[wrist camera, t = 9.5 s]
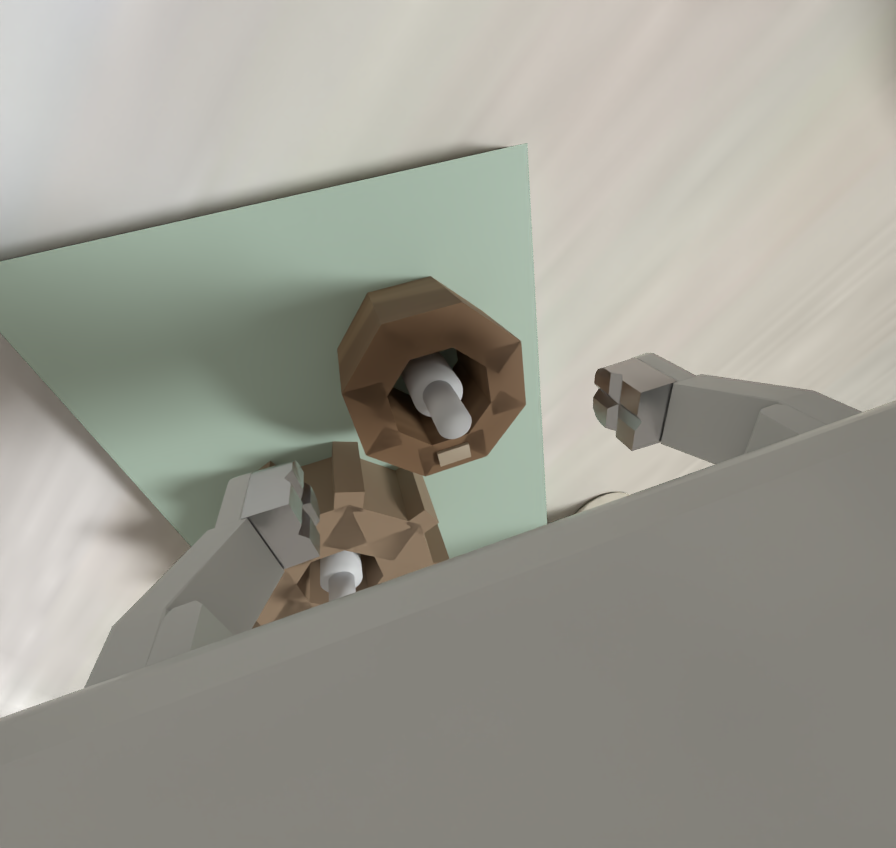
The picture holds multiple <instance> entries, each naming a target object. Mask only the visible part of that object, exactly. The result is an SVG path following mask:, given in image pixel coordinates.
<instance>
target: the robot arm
mask: <svg viewBox="0 0 896 848" xmlns="http://www.w3.org/2000/svg"><path fill="white" fill-rule="evenodd" d="M594 384H595V385H596V386H597V387H598V388H599V389H598V391H597V392H596V394H595V396H594V397H593V409H594V412H595V415H596V417H597V419H598V420H599V422H600V423H601V424H602V425H603V426H604V427H605V428H608V429H612V430H615V431H616V437H617V438H618V439H619V440H620V441H621V442H622V443H623V444H625V445H626V446H627V447H628V448H629V449H630V450H631V451H633V450H637V449H640V448H643V447H647V446H650V445H653V444H656V443H660V442H661V444H663V445H666V446H669V447H671V448H674V449H676V450H679V451H682V452H684V453H687V454H690V455H692V456H695V457H697V458H700V459H703V460H705V461H708V462H711V463H713V464H716V465H713V466H710V467H707V468H704V469H702V470H699V471H696V472H693V473H690V474H688V475H685V476H682V477H679V478H676V479H673V480H671V481H668V482H665V483H662V484H659V485H656V486H654V487H651V488H648V489H645V490H642V491H639V492H637V493H634V494H631V495H628V496H625V497H622V498H619V499H617V500H614V501H611V502H608V503H605V504H602V505H600V506H597V507H594V508H591V509H588V510H585V511H583V512H580V513H577V514H574V515H571V516H569V517H566V518H563V519H560V520H557V521H555V522H552V523H549V524H546V525H543V526H540V527H538V528H535V529H532V530H529V531H526V532H524V533H521V534H518V535H515V536H512V537H510V538H507V539H504V540H501V541H498V542H495V543H493V544H490V545H487V546H484V547H481V548H479V549H476V550H473V551H470V552H467V553H465V554H462V555H459V556H456V557H453V558H450V559H448V560H445V561H442V562H439V563H436V564H434V565H431V566H428V567H425V568H422V569H419V570H417V571H414V572H411V573H408V574H405V575H403V576H400V577H397V578H394V579H391V580H388V581H386V582H383V583H380V584H377V585H374V586H372V587H369V588H366V589H363V590H360V591H357V592H355V593H352V594H349V595H346V596H343V597H341V598H338V599H335V600H332V601H329V602H326V603H324V604H321V605H318V606H315V607H312V608H310V609H307V610H304V611H301V612H298V613H295V614H293V615H290V616H287V617H284V618H281V619H279V620H276V621H273V622H270V623H267V624H264V625H262V626H259V627H256V628H253V629H252V627H253V626H254V624H255V622H256V620H257V619H258V617H259V615H260V614H261V612H262V610H263V608H264V607H265V605H266V603H267V601H268V600H269V598H270V596H271V594H272V593H273V591H274V589H275V587H276V586H277V584H278V582H279V580H280V579H281V577H282V575H283V573H284V572H285V571H284V569H287V568H289V567H292V566H295V565H298V564H300V563H303V562H306V561H309V560H311V559H314V558H317V557H319V556H320V534H319V532H318V530H317V528H316V526H317V524H318V523H319V521H320V511H319V506H318V501H317V498H316V496H315V493H314V491H313V489H312V487H311V485H309V484H307V483H305V482H304V472H303V470H302V468H301V466H300V465H299V463H298V462H297V461H295V460H294V461H290V462H286V463H283V464H279V465H276V466H272V467H269V468H265V469H261V470H258V471H254V472H251V473H247V474H244V475H241V476H238V477H234V478H232V479H231V480H229V482H228V485H227V488H226V491H225V495H224V498H223V501H222V505H221V508H220V511H219V515H218V518H217V522H216V525H215V528H213V529H210V530H207V532H206V533H205V534H204V535H203V536H202V537H201V538H200V539H199V540H198V541H197V542H196V543H195V544H194V545H193V546H192V547H191V548H190V549H189V550H188V551H187V552H186V553H185V554H184V555H183V556H182V557H181V558H180V559H179V560H178V561H177V562H176V563H175V564H174V565H173V566H172V567H171V568H170V569H169V570H168V571H167V572H166V573H165V574H164V575H163V576H162V577H161V578H160V579H159V580H158V581H157V582H156V583H155V584H154V585H153V586H152V587H151V588H150V589H149V590H148V591H147V592H146V593H145V594H144V595H143V596H142V597H141V598H140V599H139V600H138V601H137V602H136V603H135V604H134V605H133V606H132V607H131V608H130V609H129V610H128V611H127V612H126V613H125V614H124V615H123V616H122V617H121V618H120V619H119V620H118V621H117V622H116V623H115V624H114V625H113V626H112V628H111V631H110V633H109V635H108V637H107V639H106V642H105V644H104V646H103V648H102V650H101V652H100V655H99V657H98V659H97V661H96V663H95V666H94V668H93V670H92V672H91V674H90V676H89V679H88V681H87V683H86V685H85V687H84V689H81V690H78V691H75V692H73V693H70V694H67V695H64V696H61V697H58V698H56V699H53V700H50V701H47V702H44V703H41V704H39V705H36V706H33V707H30V708H27V709H25V710H22V711H19V712H16V713H13V714H10V715H8V716H5V717H2V718H0V848H896V401H893V402H890V403H887V404H884V405H882V406H879V407H876V408H873V409H870V410H867V411H865V412H861V411H859V410H857V409H854V408H852V407H850V406H848V405H845V404H843V403H841V402H838V401H836V400H834V399H832V398H829V397H827V396H825V395H823V394H820V393H818V392H816V391H813V390H807V389H800V388H793V387H786V386H779V385H772V384H765V383H759V382H752V381H745V380H738V379H731V378H724V377H717V376H710V375H703V374H700V375H697V376H696V375H694V374H692V373H690V372H688V371H686V370H684V369H683V368H681V367H679V366H677V365H675V364H673V363H671V362H669V361H667V360H666V359H664V358H662V357H660V356H658V355H656V354H654V353H645V354H642V355H639V356H636V357H634V358H631V359H629V360H625V361H622V362H619V363H616V364H613V365H610V366H607V367H604V368H600V369H598V370H597V372H596V374H595V382H594Z"/></svg>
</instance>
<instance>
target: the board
mask: <svg viewBox="0 0 896 848" xmlns="http://www.w3.org/2000/svg"><path fill="white" fill-rule="evenodd" d="M429 276H431V277H433V278H434V279H436V280H437V281H439V282H440V283H442V284H443V285H445V286H446V287H448V288H449V289H451V290H452V291H454V292H455V293H457V294H458V295H460V296H461V297H463V298H464V299H466V300H467V301H469V302H470V303H472V304H473V305H475V306H476V307H477V308H479V309H481V310H482V311H483V312H484V313H486V314H487V315H488V316H490V317H491V318H492V319H493V320H495V321H496V322H497V323H499V324H500V325H501V326H503V327H504V328H505V329H506V330H508V331H509V332H510V333H512V334H513V335H514V336H515V337H517V338H518V339H519V340H521V344H522V357H523V370H524V383H525V396H526V405H525V407H524V408H523V409H522V411H521V412H520V413H519V415H518V416H517V417H516V419H515V420H514V421H513V423H512V424H511V425H510V427H509V428H508V429H507V430H506V432H505V433H504V434H503V436H502V437H501V438H500V440H499V441H498V442H497V444H496V445H495V446H494V448H493V449H492V450H491V452H490V453H489V454H488V456H486V457H483V458H480V459H477V460H474V461H471V462H468V463H465V464H462V465H459V466H456V467H453V468H450V469H447V470H444V471H441V472H438V473H435V474H432V475H429V476H426V477H425V476H422V475H419V474H417V473H414V472H411V471H408V470H405V469H403V468H400V467H397V466H394V465H391V464H388V463H386V462H383V461H380V460H377V459H374V458H372V457H369V456H366V454H365V452H364V449H363V447H362V444H361V442H360V439H359V437H358V434H357V432H356V429H355V427H354V424H353V421H352V419H351V416H350V414H349V411H348V409H347V406H346V404H345V401H344V399H343V396H342V393H341V383H340V373H339V363H338V353H337V348H338V346H339V345H340V343H341V341H342V339H343V337H344V335H345V333H346V332H347V330H348V328H349V326H350V324H351V322H352V320H353V319H354V317H355V315H356V313H357V311H358V309H359V307H360V306H361V304H362V302H363V300H364V298H365V296H366V294H367V293H368V292H372V291H376V290H380V289H383V288H387V287H391V286H395V285H399V284H403V283H406V282H410V281H414V280H418V279H422V278H426V277H429ZM0 333H1V334H2V335H3V336H4V338H5V339H6V340H7V341H8V342H9V343H10V344H11V345H12V347H13V348H14V349H15V350H16V351H17V352H18V353H19V354H20V355H21V357H22V358H23V359H24V360H25V361H26V362H27V363H28V364H29V366H30V367H31V368H32V369H33V370H34V371H35V372H36V373H37V375H38V376H39V377H40V378H41V379H42V380H43V381H44V382H45V384H46V385H47V386H48V387H49V388H50V389H51V390H52V391H53V392H54V394H55V395H56V396H57V397H58V398H59V399H60V400H61V401H62V403H63V404H64V405H65V406H66V407H67V408H68V409H69V410H70V412H71V413H72V414H73V415H74V416H75V417H76V418H77V419H78V420H79V422H80V423H81V424H82V425H83V426H84V427H85V428H86V429H87V431H88V432H89V433H90V434H91V435H92V436H93V437H94V438H95V440H96V441H97V442H98V443H99V444H100V445H101V446H102V447H103V448H104V450H105V451H106V452H107V453H108V454H109V455H110V456H111V457H112V459H113V460H114V461H115V462H116V463H117V464H118V465H119V466H120V468H121V469H122V470H123V471H124V472H125V473H126V474H127V475H128V477H129V478H130V479H131V480H132V481H133V482H134V483H135V484H136V485H137V487H138V488H139V489H140V490H141V491H142V492H143V493H144V494H145V496H146V497H147V498H148V499H149V500H150V501H151V502H152V503H153V505H154V506H155V507H156V508H157V509H158V510H159V511H160V512H161V513H162V515H163V516H164V517H165V518H166V519H167V520H168V521H169V522H170V524H171V525H172V526H173V527H174V528H175V529H176V530H177V531H178V533H179V534H180V535H181V536H182V537H183V538H184V539H185V540H186V541H187V543H188V544H189V545H190V546H191V547H192V546H193V545H194V544H195V543H196V542H197V541H198V540H199V539H200V538H201V537H202V536H203V535H204V534H205V533H206V532H207V530H210V529H213V528H215V525H216V522H217V518H218V515H219V511H220V508H221V505H222V501H223V498H224V495H225V491H226V488H227V485H228V482H229V480H231V479H232V478H234V477H238V476H241V475H244V474H247V473H251V472H254V471H258V470H261V469H265V468H269V467H272V466H276V465H279V464H283V463H286V462H290V461H294V460H295V461H297V462H298V463H299V465H300V466H301V468H302V470H303V472H304V482H305V483H307V484H309V485H311V487H312V489H313V491H314V493H315V496H316V498H317V501H318V506H319V511H320V521H319V523H318V524H317V526H316V528H317V530H318V532H319V534H320V556H319V557H317V558H314V559H311V560H309V561H306V562H303V563H300V564H298V565H295V566H292V567H289V568H287V569H284V571H285V572H284V573H283V575H282V577H281V579H280V580H279V582H278V584H277V586H276V587H275V589H274V591H273V593H272V594H271V596H270V598H269V600H268V601H267V603H266V605H265V607H264V608H263V610H262V612H261V614H260V615H259V617H258V619H257V620H256V622H255V624H254V626H253V627H252V629H253V628H256V627H259V626H262V625H264V624H267V623H270V622H273V621H276V620H279V619H281V618H284V617H287V616H290V615H293V614H295V613H298V612H301V611H304V610H307V609H310V608H312V607H315V606H318V605H321V604H324V603H326V602H329V601H332V600H335V599H338V598H341V597H343V596H346V595H349V594H352V593H355V592H357V591H360V590H363V589H366V588H369V587H372V586H374V585H377V584H380V583H383V582H386V581H388V580H391V579H394V578H397V577H400V576H403V575H405V574H408V573H411V572H414V571H417V570H419V569H422V568H425V567H428V566H431V565H434V564H436V563H439V562H442V561H445V560H448V559H450V558H453V557H456V556H459V555H462V554H465V553H467V552H470V551H473V550H476V549H479V548H481V547H484V546H487V545H490V544H493V543H495V542H498V541H501V540H504V539H507V538H510V537H512V536H515V535H518V534H521V533H524V532H526V531H529V530H532V529H535V528H538V527H540V526H543V525H546V524H547V511H546V492H545V473H544V454H543V435H542V416H541V397H540V377H539V358H538V339H537V320H536V301H535V282H534V263H533V244H532V225H531V206H530V186H529V167H528V148H527V143H525V144H521V145H516V146H511V147H506V148H502V149H498V150H493V151H489V152H484V153H480V154H475V155H471V156H466V157H462V158H457V159H453V160H449V161H444V162H440V163H435V164H431V165H426V166H422V167H417V168H413V169H409V170H404V171H400V172H395V173H391V174H386V175H382V176H377V177H373V178H369V179H364V180H360V181H355V182H351V183H346V184H342V185H337V186H333V187H329V188H324V189H320V190H315V191H311V192H306V193H302V194H297V195H293V196H288V197H284V198H280V199H275V200H271V201H266V202H262V203H257V204H253V205H248V206H244V207H240V208H235V209H231V210H226V211H222V212H217V213H213V214H208V215H204V216H200V217H195V218H191V219H186V220H182V221H177V222H173V223H168V224H164V225H160V226H155V227H151V228H146V229H142V230H137V231H133V232H128V233H124V234H120V235H115V236H111V237H106V238H102V239H97V240H93V241H88V242H84V243H79V244H75V245H71V246H66V247H62V248H57V249H53V250H48V251H44V252H39V253H35V254H31V255H26V256H22V257H17V258H13V259H8V260H4V261H0ZM457 361H458V358H457V352H456V349H455V348H449V349H446V350H442V351H439V352H435V353H432V354H429V355H425V356H422V357H418V358H415V359H411V360H409V362H408V364H407V365H406V367H405V368H404V370H403V372H402V373H401V375H400V377H399V378H398V380H397V381H396V383H395V385H394V386H393V387H394V388H396V389H398V390H400V391H402V392H404V393H406V394H409V395H410V396H411V398H412V401H413V403H414V405H415V407H416V409H417V410H418V411H419V412H420V413H422V414H423V415H426V416H429V417H432V420H433V422H434V424H435V426H436V428H437V430H438V432H439V434H440V435H441V436H442V437H444V438H447V439H456V438H459V437H461V436H463V435H464V434H466V433H467V432H468V430H469V429H470V427H471V423H472V419H471V416H470V414H469V412H468V411H467V409H466V408H465V406H464V405H463V403H462V402H461V399H462V395H463V387H462V384H461V382H460V380H459V378H458V377H457V376H456V374H455V373H454V371H453V370H452V369H453V367H454V366H455V364H456V363H457Z"/></svg>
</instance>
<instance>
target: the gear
mask: <svg viewBox="0 0 896 848" xmlns="http://www.w3.org/2000/svg"><path fill="white" fill-rule="evenodd" d="M449 348H455V349H456V352H457V358H458V361H457V363H456V364H455V366H454V367H453V369H452V370H453V371H454V373H455V374H456V376H457V377H458V378H459V380H460V382H461V384H462V387H463V395H462V399H461V402H462V403H463V405H464V406H465V408H466V409H467V411H468V412H469V414H470V416H471V419H472V423H471V427H470V429H469V430H468V432H467V433H466V434H464V435H463V436H461V437H459V438H456V439H447V438H444V437H442V436H441V435H440V434H439V432H438V430H437V428H436V426H435V424H434V422H433V420H432V417H429V416H426V415H423V414H422V413H420V412H419V411H418V410H417V409H416V407H415V405H414V403H413V401H412V398H411V396H410V395H409V394H406V393H404V392H402V391H400V390H398V389H396V388H394V387H393V386H394V385H395V383H396V381H397V380H398V378H399V377H400V375H401V373H402V372H403V370H404V368H405V367H406V365H407V364H408V362H409V360H411V359H415V358H418V357H422V356H425V355H429V354H432V353H435V352H439V351H442V350H446V349H449ZM337 353H338V363H339V373H340V383H341V393H342V396H343V399H344V401H345V404H346V406H347V409H348V411H349V414H350V416H351V419H352V421H353V424H354V427H355V429H356V432H357V434H358V437H359V439H360V442H361V444H362V447H363V449H364V452H365V454H366V456H369V457H372V458H374V459H377V460H380V461H383V462H386V463H388V464H391V465H394V466H397V467H400V468H403V469H405V470H408V471H411V472H414V473H417V474H419V475H422V476H425V477H426V476H429V475H432V474H435V473H438V472H441V471H444V470H447V469H450V468H453V467H456V466H459V465H462V464H465V463H468V462H471V461H474V460H477V459H480V458H483V457H486V456H488V454H489V453H490V452H491V450H492V449H493V448H494V446H495V445H496V444H497V442H498V441H499V440H500V438H501V437H502V436H503V434H504V433H505V432H506V430H507V429H508V428H509V427H510V425H511V424H512V423H513V421H514V420H515V419H516V417H517V416H518V415H519V413H520V412H521V411H522V409H523V408H524V407H525V405H526V396H525V383H524V370H523V357H522V344H521V340H519V339H518V338H517V337H515V336H514V335H513V334H512V333H510V332H509V331H508V330H506V329H505V328H504V327H503V326H501V325H500V324H499V323H497V322H496V321H495V320H493V319H492V318H491V317H490V316H488V315H487V314H486V313H484V312H483V311H482V310H481V309H479V308H477V307H476V306H475V305H473V304H472V303H470V302H469V301H467V300H466V299H464V298H463V297H461V296H460V295H458V294H457V293H455V292H454V291H452V290H451V289H449V288H448V287H446V286H445V285H443V284H442V283H440V282H439V281H437V280H436V279H434V278H433V277H431V276H429V277H426V278H422V279H418V280H414V281H410V282H406V283H403V284H399V285H395V286H391V287H387V288H383V289H380V290H376V291H372V292H368V293H367V294H366V296H365V298H364V300H363V302H362V304H361V306H360V307H359V309H358V311H357V313H356V315H355V317H354V319H353V320H352V322H351V324H350V326H349V328H348V330H347V332H346V333H345V335H344V337H343V339H342V341H341V343H340V345H339V346H338V348H337Z"/></svg>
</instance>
